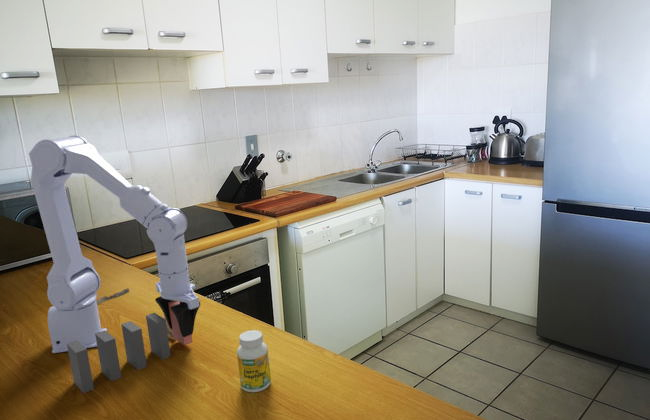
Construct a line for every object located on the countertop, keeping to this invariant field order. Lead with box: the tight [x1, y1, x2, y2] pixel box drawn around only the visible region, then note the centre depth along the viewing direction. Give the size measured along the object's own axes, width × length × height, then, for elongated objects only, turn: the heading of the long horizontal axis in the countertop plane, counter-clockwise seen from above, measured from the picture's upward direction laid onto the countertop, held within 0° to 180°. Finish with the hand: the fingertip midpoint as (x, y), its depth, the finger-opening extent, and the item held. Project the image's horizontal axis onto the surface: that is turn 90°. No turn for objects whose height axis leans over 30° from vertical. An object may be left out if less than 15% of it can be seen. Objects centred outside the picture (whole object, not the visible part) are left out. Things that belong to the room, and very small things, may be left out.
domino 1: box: [67, 340, 95, 394], centre depth 89 cm, size 2×5×8 cm, turn 44°
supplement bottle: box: [236, 329, 272, 393], centre depth 87 cm, size 5×5×10 cm
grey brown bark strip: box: [96, 288, 130, 306], centre depth 130 cm, size 12×1×5 cm
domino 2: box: [95, 330, 122, 382], centre depth 93 cm, size 2×5×8 cm, turn 44°
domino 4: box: [145, 312, 171, 360], centre depth 100 cm, size 2×5×8 cm, turn 44°
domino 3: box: [121, 320, 148, 371], centre depth 96 cm, size 2×5×8 cm, turn 44°
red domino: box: [168, 301, 193, 346], centre depth 103 cm, size 2×5×8 cm, turn 44°
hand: (181, 331), depth 103 cm, fingers closed on red domino, 5 cm apart
